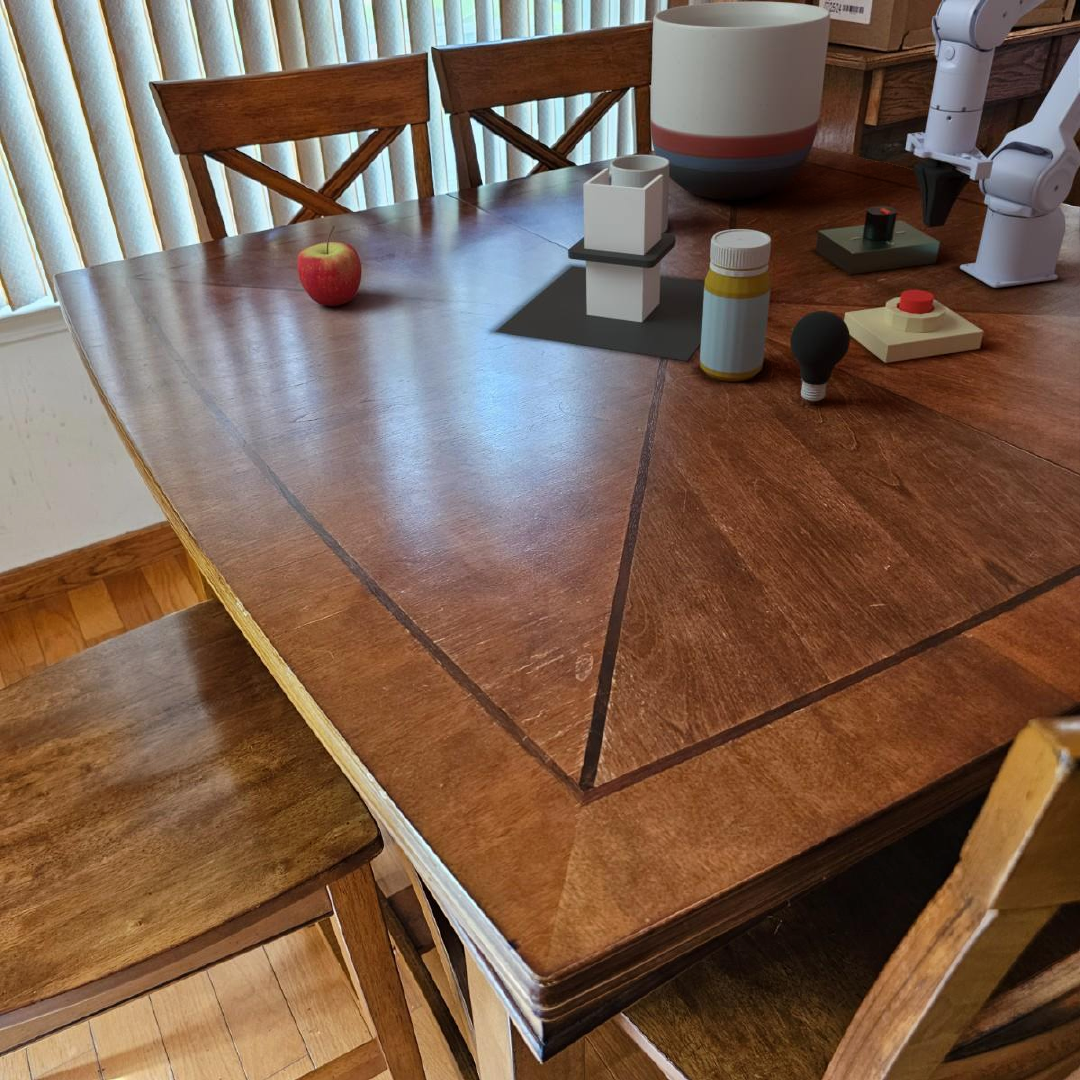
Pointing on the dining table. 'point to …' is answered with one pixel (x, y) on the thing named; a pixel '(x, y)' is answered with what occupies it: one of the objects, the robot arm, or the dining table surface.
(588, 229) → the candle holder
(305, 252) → the apple
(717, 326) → the bottle
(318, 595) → the dining table surface
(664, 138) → the planter
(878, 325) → the switch block
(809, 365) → the light bulb
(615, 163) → the mug
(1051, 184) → the robot arm
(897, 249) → the dimmer panel
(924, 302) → the switch button
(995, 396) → the dining table surface
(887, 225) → the dimmer knob
